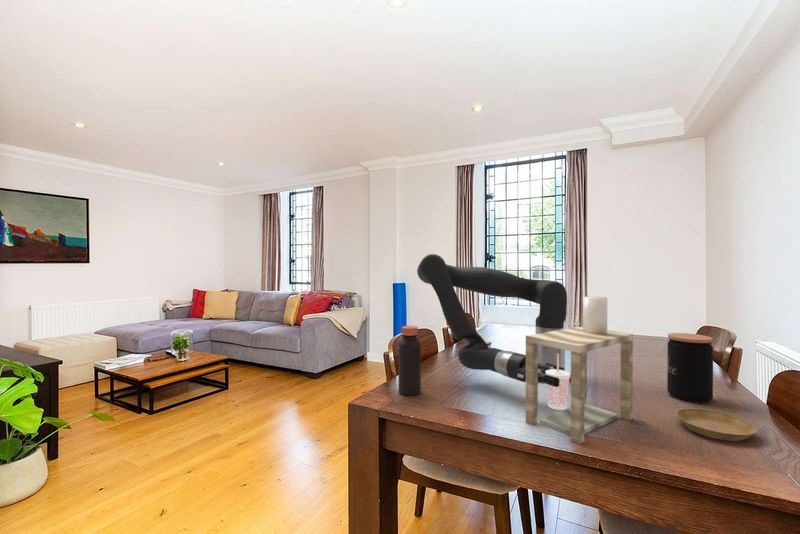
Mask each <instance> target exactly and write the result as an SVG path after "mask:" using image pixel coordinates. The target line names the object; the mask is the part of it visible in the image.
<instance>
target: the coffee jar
mask: <svg viewBox="0 0 800 534" xmlns="http://www.w3.org/2000/svg"><path fill="white" fill-rule="evenodd" d="M667 338H668V340H669V341H667V365H666V366H667V372H666V373H667V376H666V377H667V379H666V380H667V382H666V383H667V386H666V387H667V391H666V392H667V393H669V395H670V396H671V397H672V396H673V397H672V398H674V397H675V398H674V399H676V398H678V399H677V400H679V399H680V400H679V401H682V400H684V401H683V402H686V401H690V402H689V403H692V402H698V403H697V404H706V403H705V402H708V403H710V402H711V401H712V400H713V398H714V347H713V345H712V343H713V342H714V338H713V337H711V336H708V335H703V334H697V333H689V332H688V333H687V332H670V333H667ZM709 401H710V402H709ZM702 402H704V403H702Z"/></svg>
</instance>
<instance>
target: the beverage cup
mask: <svg viewBox="0 0 800 534" xmlns="http://www.w3.org/2000/svg"><path fill="white" fill-rule="evenodd" d="M545 373H546V375H550V376H553V377H556V378H559V380H560V381H559V386H558V387H555V386H551V385H548V384H546V389H547V390H546V391H547V393H546V394H547V407H549V408H551V409H552V410H553V409H554V410H557V411H562V410H565V409H568V400H569V399H568V398H569V388H570V386H569V385H570V382H569V378H570V375H571V374H570V373H571V372H569V371H567V370H565V371H563V370H559V353H557V369H550V370H546V371H545Z"/></svg>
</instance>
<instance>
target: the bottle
mask: <svg viewBox="0 0 800 534" xmlns="http://www.w3.org/2000/svg"><path fill="white" fill-rule="evenodd" d="M418 331H419V329H418V327H417V326H415V325H404V326H401V337H402V339H401V340H400V341H399V342H398V393H399V394H400V393H401V394H400V395H402V394H403V396H407V395H409V396H408V397H410V396H411V397H412V395H413V396H417V395H420V393H421V392H422V390H421V389H422V387H421V386H422V383H421V382H422V379H421V378H422V377H421V376H422V375H421V374H422V370H421V369H422V367H421V366H422V364H421V361H422V360H421V358H422V357H421V356H422V353H421V350H422V349H421V348H422V347H421V342H420V341H419V340H418V339H417V337H418Z"/></svg>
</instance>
